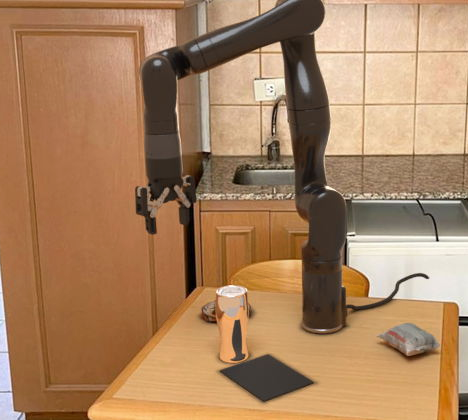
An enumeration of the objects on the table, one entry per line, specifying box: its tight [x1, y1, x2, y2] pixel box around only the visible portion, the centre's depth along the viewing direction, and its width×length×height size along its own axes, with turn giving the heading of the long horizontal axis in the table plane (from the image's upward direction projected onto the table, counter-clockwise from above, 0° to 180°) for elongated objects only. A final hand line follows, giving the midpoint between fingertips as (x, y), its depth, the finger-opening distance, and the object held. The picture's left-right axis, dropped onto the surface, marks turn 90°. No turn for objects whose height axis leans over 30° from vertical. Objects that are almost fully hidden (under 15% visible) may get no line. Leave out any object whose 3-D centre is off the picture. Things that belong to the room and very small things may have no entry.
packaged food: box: [376, 322, 441, 357], centre depth 174 cm, size 9×12×5 cm
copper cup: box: [215, 284, 250, 364], centre depth 170 cm, size 7×7×15 cm
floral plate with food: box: [201, 300, 253, 323], centre depth 193 cm, size 12×12×8 cm
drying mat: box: [219, 353, 315, 403], centre depth 163 cm, size 16×12×1 cm
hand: (168, 229), depth 171 cm, fingers open, 8 cm apart
